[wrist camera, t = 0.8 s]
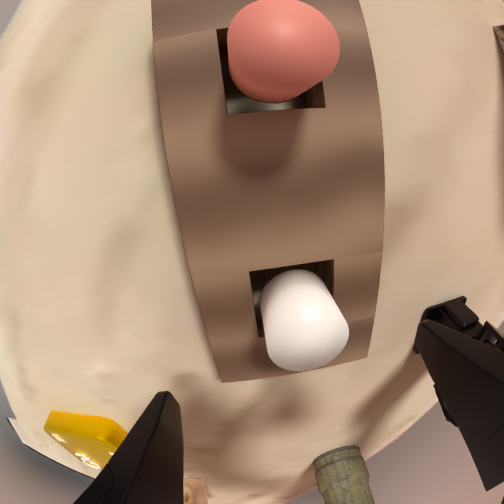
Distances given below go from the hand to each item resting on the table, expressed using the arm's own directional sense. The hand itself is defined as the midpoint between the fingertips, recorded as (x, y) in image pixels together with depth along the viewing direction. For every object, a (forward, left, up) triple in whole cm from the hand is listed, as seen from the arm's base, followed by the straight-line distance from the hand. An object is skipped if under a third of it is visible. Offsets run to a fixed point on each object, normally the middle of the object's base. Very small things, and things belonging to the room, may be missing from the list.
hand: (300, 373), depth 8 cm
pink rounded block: (+11, -1, -9) cm, 14 cm away
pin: (-3, -1, -9) cm, 9 cm away
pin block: (+4, -1, -12) cm, 13 cm away
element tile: (-31, +30, -13) cm, 45 cm away
